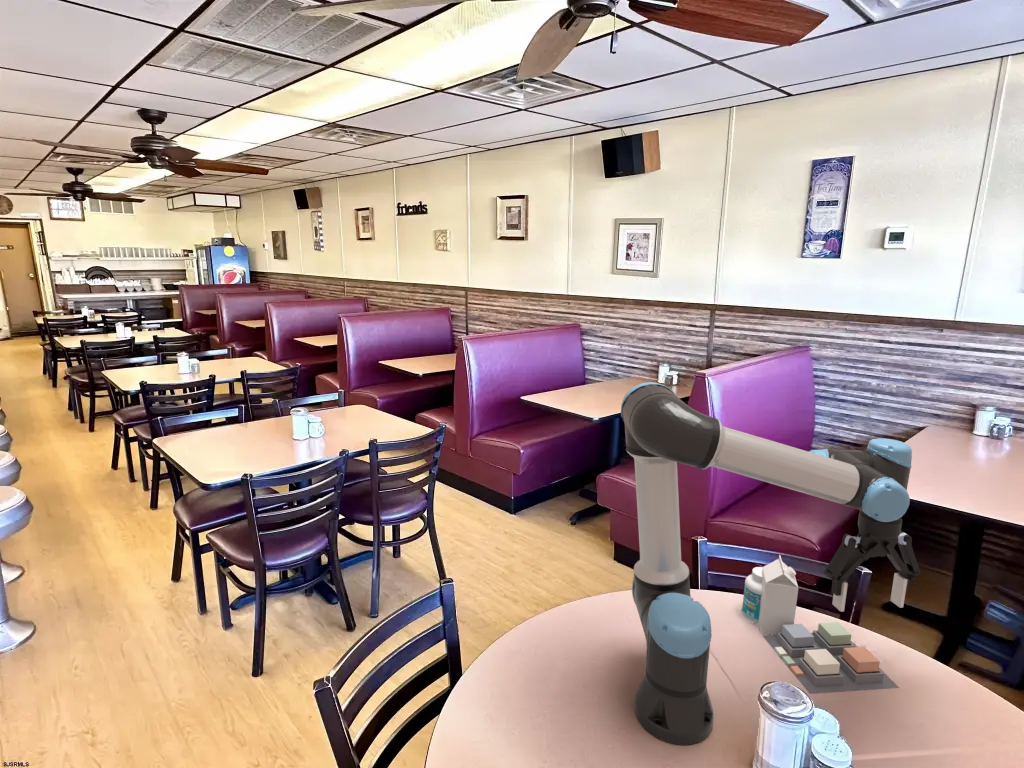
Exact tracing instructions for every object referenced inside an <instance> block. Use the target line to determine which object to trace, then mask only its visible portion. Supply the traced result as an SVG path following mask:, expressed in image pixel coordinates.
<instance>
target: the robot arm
mask: <svg viewBox="0 0 1024 768" xmlns="http://www.w3.org/2000/svg"><path fill="white" fill-rule="evenodd" d="M620 416H621V419H622V421H623V422H624V433H625V446H626V448H625V450H626V452H627V454H629V456H631V457H632V458H633V460H634V476H635V477H634V478H635V492H636V495H635V496H636V508H637V509H636V510H637V523H638V524H637V526H638V542H639V545H638V546H639V560H637V562H636V563H635V564H634V566H633V579H632V585H631V592H632V598H633V602H634V605H635V607H636V609H637V610H636V611H637V613H638V616H639V620H640V623H641V626H642V630H643V633H644V636H645V641H646V654H645V655H646V656H645V658H646V659H645V673H644V675H643V677H642V679H641V681H640V683H639V686H638V688H637V690H636V692H635V695H634V712H635V717H636V718H637V720H638V722H639V724H640V725H641V726H642V728H644V729H645V730H646V731H647V732H648V733H650V734H651V735H653V736H654V737H655V738H657V739H659V740H661V741H663V742H667V743H670V744H675V745H685V746H686V745H693V744H696V743H699V742H702V741H704V740H705V739H707V738H708V736H709V735H710V734H711V733H712V730H713V726H714V709H713V705H712V702H711V698H710V694H709V690H708V687H707V682H708V681H707V680H708V671H709V661H710V660H709V658H710V647H711V641H712V636H713V634H712V624H711V623H712V622H711V618H710V615H709V614H710V613H709V612H708V610H707V609H706V608H705V606H703V604H702V603H700V601H698V600H694V597H692V596H691V595H692V594H691V584H690V583H691V582H690V569H689V566H688V565H687V563H685V562H684V561H682V547H681V546H682V545H681V544H682V543H681V524H680V502H679V499H680V498H679V477H678V476H679V475H678V463H679V464H683V465H686V466H690V467H693V468H696V469H699V470H707V469H709V468H710V467H713V468H716V469H720V470H724V471H726V472H730V473H734V474H738V475H741V476H744V477H747V478H751V479H754V480H758V481H762V482H765V483H768V484H771V485H775V486H778V487H781V488H784V489H785V488H786V489H788V490H792V491H795V492H799V493H802V494H806V495H809V496H813V497H816V498H820V499H822V500H826V501H830V502H833V503H837V504H840V505H843V506H846V507H849V508H853V509H856V510H859V513H858V517H857V518H858V519H857V526H858V527H857V528H858V533H857V535H855V536H852V535H850V534H848V533H844V534H843V536H842V540H841V543H840V545H839V546H838V548H837V550H836V552H835V553H834V555H833V557H832V558H831V560H830V561H829V563H828V564H827V566H826V568H825V569H824V572H823V573H824V575H825V576H826V577H827V578H829V579H830V580H832V583H831V589H830V590H831V593H833V597H832V603H831V604H832V606H834V608H835V609H837V610H838V611H839V612H842V613H843V612H845V606H846V599H847V592H848V586H849V584H848V582H847V581H846V580H848V578H849V577H850V576H851V575H852V574H853V573H854V572H855V571H856V570H857V568H859V566H861V564H862V563H863V562H865V561H868V560H869V559H870V558H877V557H881V558H884V557H886V556H887V558H888V560H889V561H890V563H891V564H892V565H893V567H894V568H895V569H896V571H898V572H894V575H893V580H892V588H891V595H890V602H891V603H893V604H895V605H896V606H897V607H898V608H900V609H901V608H904V604H905V597H906V592H908V591H909V587H910V581H911V582H913V581H915V579H916V576H918V577H919V576H920V575H921V573H922V572H921V569H920V566H919V564H918V560H917V558H916V555H915V552H914V549H913V545H912V544H913V538H912V536H911V535H909V534H907V533H906V532H904V531H902V525H903V519H902V517H903V516H905V514H906V513H907V510H908V509H909V506H910V501H911V500H910V494H909V492H908V486H909V485H908V484H909V480H910V474H911V469H912V460H913V459H912V458H913V451H912V448H911V447H912V446H910V445H909V444H907V443H905V442H903V441H900V440H897V439H892V438H883V437H878V438H873V439H870V440H869V442H868V445H867V446H866V449H856V450H855V449H828V448H824V449H812V450H809V451H808V450H804V449H800V448H797V447H794V446H791V445H788V444H785V443H781V442H777V441H774V440H771V439H767V438H764V437H761V436H756V435H753V434H750V433H747V432H743V431H742V430H741V431H740V430H738V429H737V430H736V429H733V428H730V427H727V426H724V425H723V424H722V423H721V420H720V419H719V418H716V417H712V416H709V415H707V414H704V413H702V412H699V411H698V410H696V409H694V408H692V407H691V406H689V405H688V404H686V403H685V402H684V401H683V400H682V399H680V398H679V397H678V396H677V395H676V393H675V392H674V391H673V390H672V389H671V388H669V386H666V385H663V384H661V383H658V382H650V381H649V382H642V383H639V384H636V385H635V386H633V387H632V388H630V389H629V390H628V391H627V392H626V394H625V395H624V397H623V399H622V402H621V406H620ZM896 545H898V548H899V551H900V554H901V557H902V558H901V557H900V555H899V553H898V552H897V550H896V549H895V547H896ZM861 551H862V552H863V553H862V552H861ZM902 559H903V560H902Z"/></svg>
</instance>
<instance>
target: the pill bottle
mask: <svg viewBox="0 0 1024 768" xmlns="http://www.w3.org/2000/svg"><path fill="white" fill-rule="evenodd" d="M763 567H764V566H756V567H753V568H752V571H751V574H748V576H747V577H745V580H744V589H743V598H742V606H741V607H742V608H741V614H742V616H743V617H744V618H745V619H746V620H748V621H749V622H752V623H754V624H755V623H756V624H758V622H759V613H760V605H761V596H762V579H763V576H762V568H763Z"/></svg>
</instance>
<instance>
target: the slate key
mask: <svg viewBox="0 0 1024 768" xmlns="http://www.w3.org/2000/svg"><path fill="white" fill-rule="evenodd" d="M811 633H812V632H810V631H809V629H807V628H806V626H805V625H804V624H802V623H796V624H795V623H794V624H789V625H782V635H783V636H784V637H785V639H786V640H787V641H788V642H789V643H790V644H791V645H792V647H806V646H813V643H814V636H813V635H812V634H811Z"/></svg>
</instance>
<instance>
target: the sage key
mask: <svg viewBox="0 0 1024 768" xmlns="http://www.w3.org/2000/svg"><path fill="white" fill-rule="evenodd" d="M817 625H818V626H817V630H818V633H819V634H820V635H821V636H822V637H823V638H824V639H825V640H826V641H827V642H828V643H829V644H830V645H841V644H850V642H851V641H852V634H851V633H850V632H849V631H848V630H847V629H846V628H845V627H844V626H843V625H842V624H841V623H840V622H839V621H833V622H832V621H830V622H829V621H828V622H818V624H817Z"/></svg>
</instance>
